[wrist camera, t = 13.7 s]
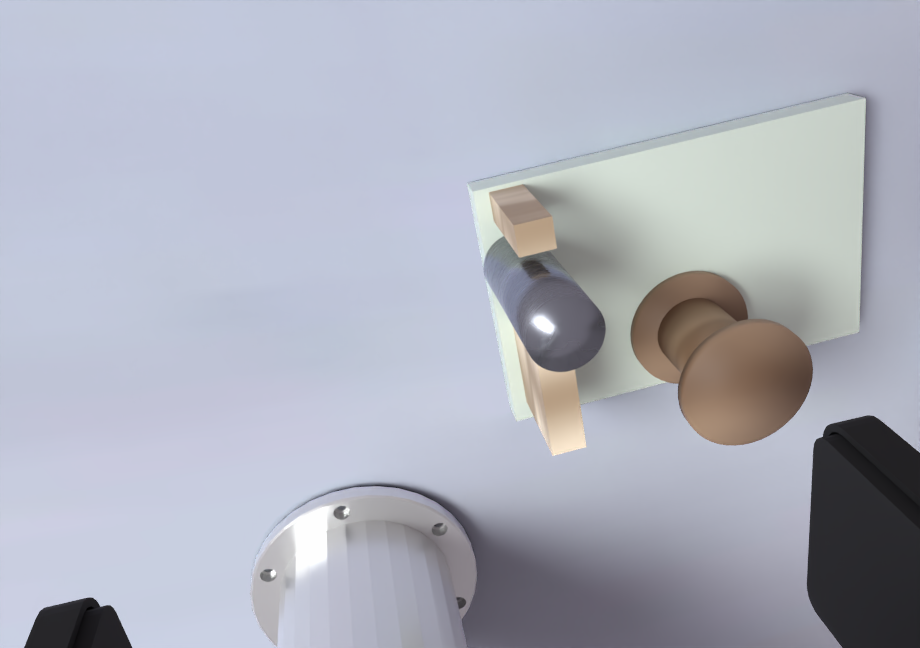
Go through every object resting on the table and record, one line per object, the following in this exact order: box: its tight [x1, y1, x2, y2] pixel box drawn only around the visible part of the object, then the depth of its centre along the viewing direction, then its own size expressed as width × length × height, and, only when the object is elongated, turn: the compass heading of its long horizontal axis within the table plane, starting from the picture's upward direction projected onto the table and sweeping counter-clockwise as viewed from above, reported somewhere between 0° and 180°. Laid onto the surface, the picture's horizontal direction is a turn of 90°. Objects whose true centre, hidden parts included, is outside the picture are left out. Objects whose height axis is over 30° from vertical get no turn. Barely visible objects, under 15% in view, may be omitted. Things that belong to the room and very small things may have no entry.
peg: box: [484, 236, 606, 372], centre depth 35 cm, size 3×3×8 cm
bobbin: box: [630, 271, 813, 445], centre depth 39 cm, size 6×6×6 cm
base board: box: [467, 93, 866, 421], centre depth 41 cm, size 12×19×2 cm, turn 101°
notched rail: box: [489, 184, 586, 456], centre depth 37 cm, size 11×2×5 cm, turn 11°
